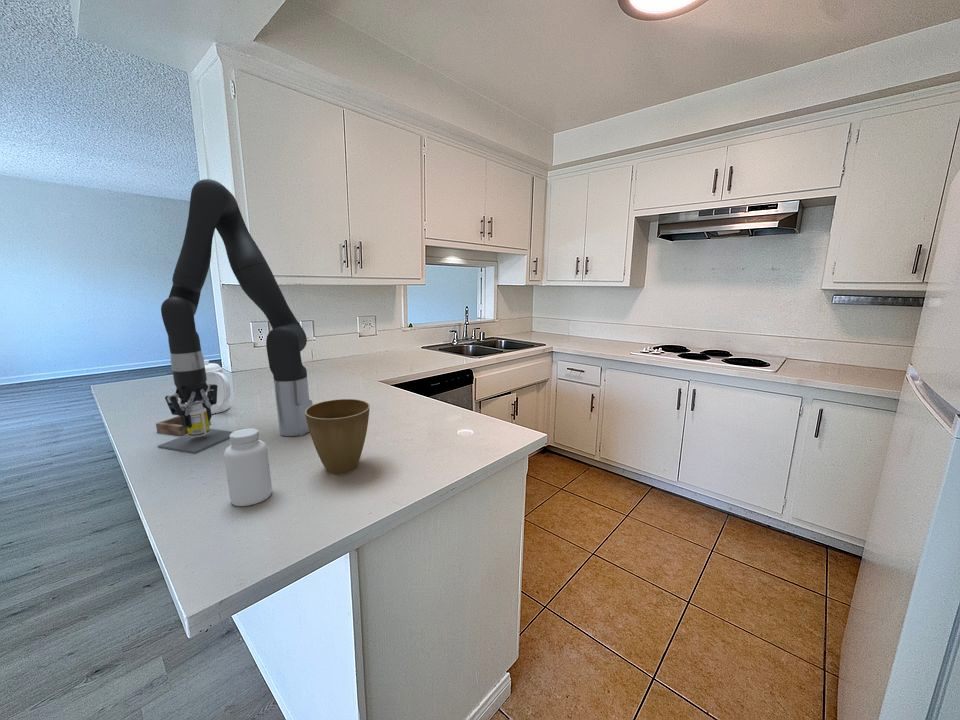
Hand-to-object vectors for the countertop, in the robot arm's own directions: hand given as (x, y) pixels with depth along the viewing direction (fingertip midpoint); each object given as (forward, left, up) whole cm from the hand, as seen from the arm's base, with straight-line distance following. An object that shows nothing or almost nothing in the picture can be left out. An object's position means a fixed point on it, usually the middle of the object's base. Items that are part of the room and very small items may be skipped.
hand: (197, 423), depth 113 cm
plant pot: (-51, +3, -6) cm, 51 cm away
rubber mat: (0, 0, -5) cm, 5 cm away
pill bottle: (-40, +20, -6) cm, 45 cm away
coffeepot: (+22, -22, -6) cm, 32 cm away
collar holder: (+14, -6, -5) cm, 16 cm away
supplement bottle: (0, 0, -4) cm, 4 cm away
